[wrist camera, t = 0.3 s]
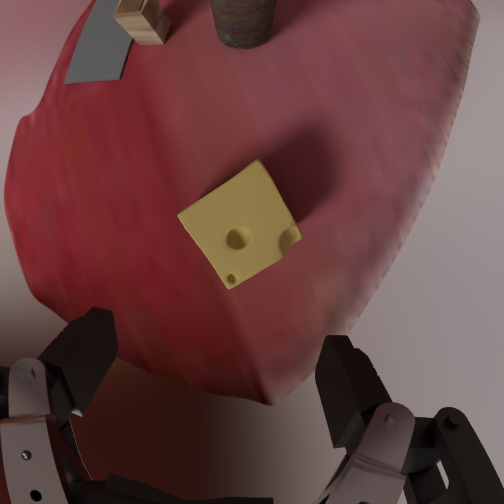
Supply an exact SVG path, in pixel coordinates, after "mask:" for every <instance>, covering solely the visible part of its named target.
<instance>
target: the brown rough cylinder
mask: <svg viewBox="0 0 504 504" xmlns="http://www.w3.org/2000/svg"><path fill="white" fill-rule="evenodd" d="M210 1H211V7H212V11H213V17H214V22H215V27H216V31H217V35H218V37H219V39H220V40H221V41H222V42H223V43H224V44H225V45H227V46H229V47H233V48H237V49H251V48H254V47H256V46H259V45H260V44H262V43H263V42H265V41H266V40H267V38H268V36H269V34H270V30H271V27H272V21H273V16H274V10H275V5H276V0H210Z"/></svg>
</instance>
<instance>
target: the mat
mask: <svg viewBox="0 0 504 504" xmlns="http://www.w3.org/2000/svg"><path fill="white" fill-rule="evenodd" d="M119 1H120V0H96V2H95V4H94V6H93V8H92V10H91V12H90V15H89V17H88V19H87V21H86V24H85V26H84V28H83V31H82V33H81V35H80V38H79V41H78V43H77V46H76V49H75V51H74V54H73V57H72V60H71V63H70V66H69V69H68V72H67V76H66V79H65V83H64V84H71V83H80V82H90V81H103V80H120V78H121V75H122V71H123V68H124V65H125V61H126V58H127V55H128V52H129V49H130V46H131V43H132V41H133V38H132V37H131V36H130V34H129V33H128V32H127V31H126V30H125V29H124V28H123V27H122V26H121V25H120V24H119V23H118V22H117V21H116V20H115V19H114V18H113V17H112V16H113V14H114V12H115V10H116V7H117V5H118V3H119Z"/></svg>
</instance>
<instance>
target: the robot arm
mask: <svg viewBox="0 0 504 504" xmlns="http://www.w3.org/2000/svg"><path fill="white" fill-rule="evenodd" d="M117 351H118V342H117V336H116V330H115V324H114V317H113V313H112V311H111V310H107V309H102V308H97V307H92V308H91V309H90V310H89V311H88V312H87V313H86V314H85V315H84V316H83V317H79V318H77V319H75V320H73V321H71V322H70V323H69V324H68V325H67V326H66V327H65V328H64V329H63V332H60V334H59V335H58V336H57V338H55V339H54V340H53V341H52V342H51V343H50V345H49V346H48V347H47V348H46V349H45V350H44V351H43V352H42V354H41V355H40V356H39V357H38V358H37V359H33V358H26V359H22V360H20V361H18V362H16V363H15V364H14V365H13V366H12V367H11V368H10V367H3V366H0V466H1V464H2V462H4V468H5V475H6V481H7V486H8V491H9V495H10V499H11V503H12V504H273V498H248V497H226V498H217V499H207V500H193V501H188V500H183V499H180V498H178V497H175V496H173V495H171V494H168V493H166V492H163V491H161V490H159V489H157V488H155V487H152V486H150V485H148V484H146V483H142V482H138V481H135V480H131V479H128V478H124V477H121V476H118V475H115V474H112V473H109V474H108V477H107V480H92V479H91V477H90V475H89V474H88V472H87V470H86V468H85V466H84V464H83V462H82V459H81V457H80V453H79V450H78V447H77V444H76V441H75V437H74V434H73V430H72V427H71V423H70V420H69V416H70V414H71V412H72V413H74V414H77V415H79V416H82V417H83V415H84V413H85V411H86V409H87V407H88V405H89V404H90V402H91V400H92V398H93V396H94V395H95V393H96V391H97V389H98V387H99V386H100V384H101V382H102V380H103V379H104V377H105V375H106V373H107V372H108V370H109V368H110V367H111V365H112V363H113V361H114V360H115V358H116V355H117ZM315 381H316V384H317V388H318V392H319V395H320V399H321V403H322V406H323V410H324V413H325V417H326V421H327V425H328V428H329V432H330V436H331V440H332V443H333V447H334V448H341V447H345V448H346V452H347V453H346V455H345V456H344V458H343V459H342V461H341V463H340V464H339V466H338V468H337V469H336V471H335V473H334V474H333V476H332V478H331V479H330V481H329V482H328V484H327V485H326V487H325V488H324V490H323V491H322V493H321V494H320V495H319V497H318V498H317V499H316V501H315V502H314V503H313V504H397V502H398V500H399V497H400V494H401V492H402V489H403V490H404V493H405V497H406V500H407V504H504V488H503V486H502V484H501V481H500V479H499V477H498V475H497V473H496V471H495V469H494V467H493V465H492V463H491V461H490V459H489V457H488V455H487V453H486V451H485V449H484V447H483V445H482V444H481V442H480V440H479V438H478V436H477V435H476V433H475V431H474V429H473V428H472V426H471V424H470V422H469V421H468V419H467V417H466V416H465V415H464V414H463V413H462V412H461V411H460V410H458V409H456V408H453V407H445V408H442V409H440V410H439V411H438V413H437V414H436V415H435V417H434V418H424V417H414V415H413V414H412V412H411V411H410V410H409V409H408V408H407V407H405V406H404V405H402V404H399V403H394V402H392V400H391V398H390V396H389V394H388V392H387V390H386V389H385V387H384V385H383V383H382V381H381V380H380V377H379V376H378V375H377V372H376V370H375V368H373V365H372V363H371V361H370V359H369V357H368V356H367V355H366V354H365V353H364V352H362V351H361V350H360V349H359V348H354V347H353V345H352V343H351V341H350V339H349V337H348V336H346V335H327V336H326V338H325V340H324V343H323V346H322V349H321V353H320V356H319V359H318V362H317V365H316V369H315ZM440 460H441V463H442V465H443V467H444V470H445V472H446V475H447V477H448V480H449V485H448V489H446V487H445V484H444V481H443V479H442V476H441V474H440V471H439V469H438V466H437V463H438V462H439V461H440Z"/></svg>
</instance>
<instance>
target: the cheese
mask: <svg viewBox="0 0 504 504" xmlns="http://www.w3.org/2000/svg"><path fill="white" fill-rule="evenodd" d="M178 218H179V219H180V221H181V223H182V224H183V226H184V227H185V229H186V230H187V231H188V233H189V234H190V235H191V237H192V238H193V239H194V241H195V242H196V243H197V245H198V246H199V247H200V249H201V250H202V251H203V253H204V254H205V255H206V257H207V258H208V259H209V261H210V262H211V264H212V265H213V267H214V268H215V270H216V271H217V273H218V275H219V276H220V278H221V279H222V281H223V282H224V284H225V285H226V287H227V288H228V289H231V288H233V287H235V286H236V285H238V284H240V283H241V282H243V281H245V280H246V279H248V278H250V277H252V276H253V275H255V274H257V273H258V272H260V271H261V270H263V269H265V268H266V267H268V266H270V265H272V264H274V263H275V262H277V261H279V260H280V259H281V258H283V256H284V254H285V251H286V249H287V248H288V247H289V246H290V245H292V244H294V243H296V242H297V241H299V240H301V239H302V238H303V233H302V232H301V230H300V228H299V226H298V225H297V223H296V222H295V220H294V219H293V217H292V215H291V213H290V211H289V209H288V208H287V206H286V204H285V202H284V201H283V199H282V197H281V195H280V193H279V191H278V190H277V188H276V186H275V184H274V182H273V180H272V178H271V176H270V175H269V173H268V172H267V170H266V168H265V167H264V165H263V164H262V162H261V161H260V159H259V158H256V159H255V160H254V161H252V162H251V163H250V164H249V165H248V166H246V167H245V168H244V169H243V170H242V171H240V172H239V173H238V174H237V175H235V176H234V177H233V178H231V179H230V180H228V181H227V182H225V183H224V184H222V185H221V186H219V187H218V188H216V189H215V190H213V191H212V192H210V193H209V194H207V195H206V196H204V197H203V198H201V199H200V200H198V201H197V202H195V203H194V204H192V205H191V206H189V207H187V208H186V209H185V210H183V211H182V212H180V213H179V214H178Z"/></svg>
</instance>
